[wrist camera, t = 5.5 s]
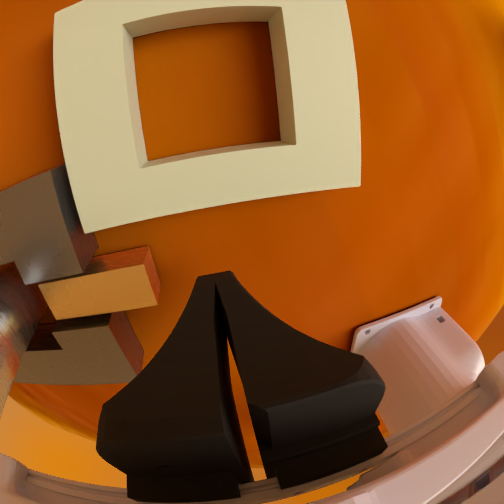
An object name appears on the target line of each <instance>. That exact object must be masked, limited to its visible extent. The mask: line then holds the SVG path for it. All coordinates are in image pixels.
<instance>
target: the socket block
mask: <svg viewBox="0 0 504 504" xmlns="http://www.w3.org/2000/svg"><path fill="white" fill-rule="evenodd" d="M97 249H98V244H97V241H96V238H95V235H94V232H90V233H86V234H85V233H84V230H83V227H82V224H81V221H80V218H79V214H78V211H77V207H76V204H75V200H74V197H73V193H72V189H71V185H70V181H69V177H68V172H67V168H66V163H64V164H62V165H59V166H56V167H54V168H51V169H48V170H46V171H43V172H41V173H38V174H36V175H34V176H31V177H29V178H27V179H24V180H22V181H20V182H18V183H16V184H13V185H11V186H9V187H7V188H5V189H3V190H1V191H0V265H3V264H6V263H10V262H13V261H15V264H16V266H17V268H18V271H19V273H20V275H21V277H22V279H23V281H24V283H25V285H27V284H32V283H37V282H41V281H46V280H51V279H56V278H61V277H66V276H70V275H75V274H80V273H83V272H84V271H85V269H86V267H87V265H88V264H89V262H90V260H91V259H92V257H93V255H94V254H95V252H96V250H97ZM143 354H144V351H143V349H142V347H141V345H140V343H139V341H138V339H137V337H136V335H135V333H134V331H133V329H132V327H131V325H130V323H129V320H128V318H127V316H126V314H125V312H124V311H117V312H111V313H104V314H97V315H90V316H83V317H75V318H67V319H60V320H57V322H56V323H52V324H43V325H38V326H37V328H36V330H35V332H34V334H33V336H32V338H31V340H30V343H29V345H28V347H27V349H26V351H25V353H24V356H23V358H22V360H21V362H20V365H19V367H18V370H17V372H16V375H15V377H14V380H13V382H18V383H31V384H54V385H92V384H115V383H130V382H131V381H132V380H133V379H134V378H135V377H136V376H137V375H138V374H139V373H140V372H141V371H142V364H143Z"/></svg>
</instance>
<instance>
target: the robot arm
mask: <svg viewBox="0 0 504 504" xmlns="http://www.w3.org/2000/svg"><path fill="white" fill-rule="evenodd" d="M441 303H442V298H441V297H440V296H438V297H435V298H433V299H431V300H428V301H426V302H424V303H421V304H419V305H417V306H414V307H412V308H409V309H407V310H404V311H402V312H399V313H396V314H394V315H391V316H389V317H386V318H383V319H380V320H378V321H375V322H372V323H369V324H366V325H363V326H360V327H359V328H357V329H356V331H355V333H354V337H353V342H352V346H351V351H350V352H349V351H346V350H342V349H339V348H336V347H333V346H330V345H328V344H325V343H323V342H320V341H318V340H316V339H313V338H311V337H309V336H307V335H305V334H303V333H302V332H300V331H298V330H296V329H294V328H292V327H291V326H289V325H288V324H286V323H284V322H283V321H282V320H280V319H279V318H277V317H276V316H274V315H273V314H272V313H271V312H269V311H268V310H267V309H266V308H264V307H263V306H262V305H261V304H260V303H259V302H258V301H257V300H255V299H254V298H253V297H252V296H251V295H250V293H249V292H248V291H247V290H246V289H245V288H244V287H243V286H242V285H241V284H240V282H239V281H238V280H237V278H236V277H235V275H234V274H233V272H231V271H225V272H220V273H214V274H209V275H203V276H198V278H197V279H196V282H195V285H194V288H193V291H192V293H191V296H190V298H189V300H188V302H187V305H186V307H185V309H184V311H183V313H182V315H181V317H180V318H179V320H178V322H177V324H176V326H175V328H174V329H173V331H172V333H171V334H170V336H169V337H168V339H167V340H166V342H165V343H164V344H163V346H162V347H161V349H160V350H159V351H158V352H157V354H156V355H155V356H154V358H153V359H152V360H151V361H150V362H149V364H148V365H147V366H146V367H145V368H144V369H143V370H142V371H141V372H140V373H139V374H138V375H137V376H136V377H135V378H134V379H133V380H132V381H131V382H130V383H129V384H128V385H127V386H125V387H124V388H123V389H122V390H121V391H119V392H118V393H117V394H116V395H114V396H113V397H112V398H111V399H110V400H108V401H107V402H106V403H104V404H103V406H102V411H101V414H100V418H99V425H98V433H97V442H96V450H97V452H98V454H99V455H100V456H101V457H102V458H103V459H104V460H105V461H106V462H108V463H109V464H111V465H112V466H114V467H115V468H117V469H119V470H120V471H122V472H123V473H125V474H127V488H117V487H108V486H100V485H94V484H88V483H83V482H77V481H72V480H68V479H63V478H59V477H55V476H51V475H48V474H44V473H41V472H37V471H34V470H31V469H28V468H27V467H26V466H24V465H23V464H22V463H20V462H19V461H17V460H15V459H13V458H11V457H9V456H6V455H4V454H1V453H0V504H262V503H267V502H272V501H276V500H281V499H285V498H288V497H293V496H296V495H300V494H304V493H307V492H310V491H314V490H317V489H320V488H323V487H326V486H329V485H332V484H334V483H337V482H340V481H342V480H345V479H348V478H350V477H353V476H355V475H357V474H360V473H362V472H364V471H366V470H368V469H371V468H373V467H374V468H373V469H371V470H369V471H368V472H365V473H363V474H361V475H360V478H359V480H358V481H357V482H355V483H354V484H353V485H351V486H350V487H348V488H347V491H345V492H342V493H339V494H336V495H333V496H330V497H327V498H324V499H321V500H318V501H314V502H310V503H307V504H504V352H503V351H502V352H500V353H499V354H498V355H497V356H496V357H495V358H494V359H492V360H491V361H490V362H489V363H488V364H487V365H486V366H485V363H484V359H483V355H482V352H481V350H480V348H479V347H478V345H477V344H476V343H475V342H474V341H473V339H472V338H471V337H470V336H469V335H468V334H467V333H466V332H465V331H464V330H463V329H462V328H461V327H460V326H459V325H458V324H457V323H456V322H455V321H454V320H453V319H452V318H451V317H450V316H449V315H448V314H447V313H446V312H445V311H444V310H443V309H442V308H441V307H440V305H441ZM227 338H228V341H229V344H230V347H231V351H232V354H233V357H234V360H235V363H236V366H237V369H238V372H239V375H240V378H241V381H242V384H243V388H244V391H245V396H246V400H247V404H248V408H249V412H250V416H251V420H252V424H253V428H254V432H255V436H256V440H257V444H258V447H259V451H260V455H261V459H262V462H263V466H264V469H265V473H266V477H267V479H265V480H259V481H254V478H253V475H252V471H251V467H250V464H249V460H248V456H247V452H246V448H245V444H244V440H243V436H242V432H241V428H240V424H239V419H238V415H237V411H236V406H235V401H234V397H233V392H232V386H231V377H230V367H229V356H228V345H227ZM376 410H377V412H378V414H379V415H380V417H381V419H382V421H383V422H384V424H385V426H386V428H387V429H388V431H389V433H390V434H391V435H390V436H388V437H386V438H383V436H382V434H381V432H380V430H379V429H378V427H377V426H379V425H380V421H379V420H378V418H377V416H376V414H375V412H376ZM379 464H380V465H379ZM377 465H378V466H377ZM375 466H376V467H375Z"/></svg>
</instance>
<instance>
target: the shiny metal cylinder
mask: <svg viewBox="0 0 504 504" xmlns="http://www.w3.org/2000/svg"><path fill="white" fill-rule="evenodd" d="M39 283H40V282H37V283H32V284H27V285H25V283H24V281H23V279H22V277H21V275H20V273H19V271H18V268H17V266H16V264H15V261H13V262H10V263H6V264H4V265H3V267H2V268H1V269H0V418H1V414H2V411H3V408H4V405H5V402H6V399H7V396H8V393H9V390H10V388H11V385H12V382H13V380H14V377H15V375H16V372H17V370H18V367H19V365H20V362H21V360H22V358H23V356H24V353H25V351H26V349H27V347H28V345H29V343H30V340H31V338H32V336H33V334H34V332H35V330H36V328H37V326H38V324H39V323H40V321H41V319H42V317H43V315H44V313H45V311H46V309H47V308H48V304H47V302H46V300H45V298H44V296H43V294H42V292H41V290H40V288H39V286H38V284H39Z"/></svg>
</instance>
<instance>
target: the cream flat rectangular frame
mask: <svg viewBox="0 0 504 504" xmlns="http://www.w3.org/2000/svg"><path fill="white" fill-rule="evenodd" d="M255 21H262V22H268V24H269V32H270V39H271V48H272V56H273V65H274V74H275V83H276V93H277V103H278V114H279V125H280V137H281V141H272V142H262V143H253V144H244V145H237V146H229V147H222V148H215V149H209V150H203V151H197V152H191V153H186V154H181V155H175V156H170V157H166V158H161V159H156V160H152V161H148V160H147V155H146V149H145V143H144V137H143V131H142V124H141V117H140V110H139V102H138V94H137V85H136V76H135V65H134V53H133V38H134V37H138V36H142V35H146V34H150V33H155V32H159V31H164V30H170V29H175V28H182V27H188V26H196V25H204V24H214V23H227V22H255ZM53 68H54V87H55V98H56V108H57V116H58V124H59V131H60V137H61V143H62V148H63V153H64V158H65V163H66V168H67V172H68V177H69V181H70V185H71V189H72V193H73V197H74V200H75V204H76V207H77V211H78V214H79V218H80V221H81V224H82V227H83V230H84V233H85V234H86V233H90V232H94V231H98V230H102V229H106V228H110V227H115V226H119V225H123V224H128V223H132V222H137V221H141V220H146V219H151V218H155V217H160V216H165V215H170V214H175V213H180V212H185V211H191V210H196V209H201V208H207V207H213V206H218V205H224V204H230V203H236V202H242V201H248V200H255V199H261V198H268V197H275V196H282V195H289V194H297V193H304V192H312V191H320V190H329V189H338V188H347V187H357V186H361V132H360V109H359V94H358V82H357V71H356V62H355V54H354V46H353V39H352V33H351V27H350V21H349V15H348V10H347V5H346V0H83V1H81V2H78V3H76V4H74V5H71V6H69V7H67V8H65V9H62V10H60V11H58V12H56V13H55V17H54V35H53Z"/></svg>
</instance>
